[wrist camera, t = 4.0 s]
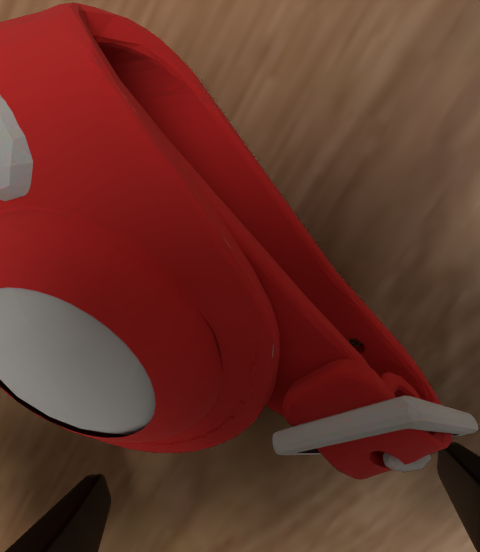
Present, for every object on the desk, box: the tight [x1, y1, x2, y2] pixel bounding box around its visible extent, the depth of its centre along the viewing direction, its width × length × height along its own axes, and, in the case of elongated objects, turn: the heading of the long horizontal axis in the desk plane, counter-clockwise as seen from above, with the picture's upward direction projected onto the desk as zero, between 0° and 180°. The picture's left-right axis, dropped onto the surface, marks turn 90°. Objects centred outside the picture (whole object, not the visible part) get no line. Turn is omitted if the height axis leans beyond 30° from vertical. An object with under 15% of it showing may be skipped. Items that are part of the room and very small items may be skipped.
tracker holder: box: [0, 3, 478, 479], centre depth 7 cm, size 12×4×10 cm
